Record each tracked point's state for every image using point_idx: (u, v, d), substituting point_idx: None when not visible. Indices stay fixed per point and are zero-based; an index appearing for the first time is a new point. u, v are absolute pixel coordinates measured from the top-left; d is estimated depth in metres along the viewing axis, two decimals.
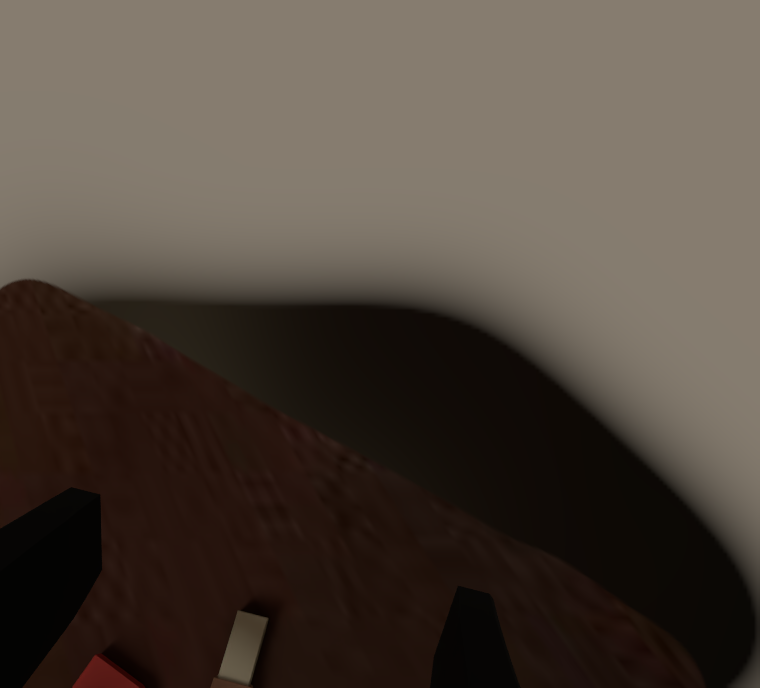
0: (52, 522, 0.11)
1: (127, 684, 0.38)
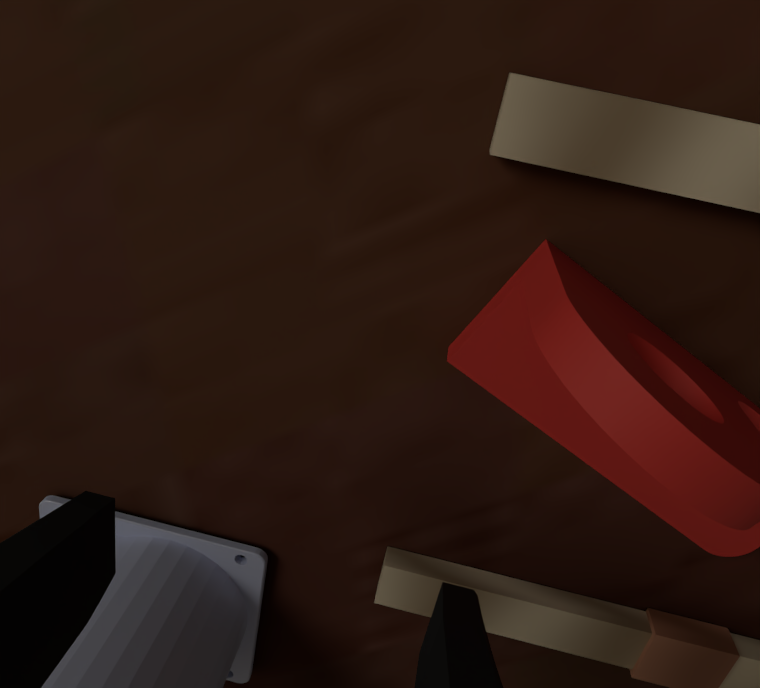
0: (67, 526, 0.11)
1: None
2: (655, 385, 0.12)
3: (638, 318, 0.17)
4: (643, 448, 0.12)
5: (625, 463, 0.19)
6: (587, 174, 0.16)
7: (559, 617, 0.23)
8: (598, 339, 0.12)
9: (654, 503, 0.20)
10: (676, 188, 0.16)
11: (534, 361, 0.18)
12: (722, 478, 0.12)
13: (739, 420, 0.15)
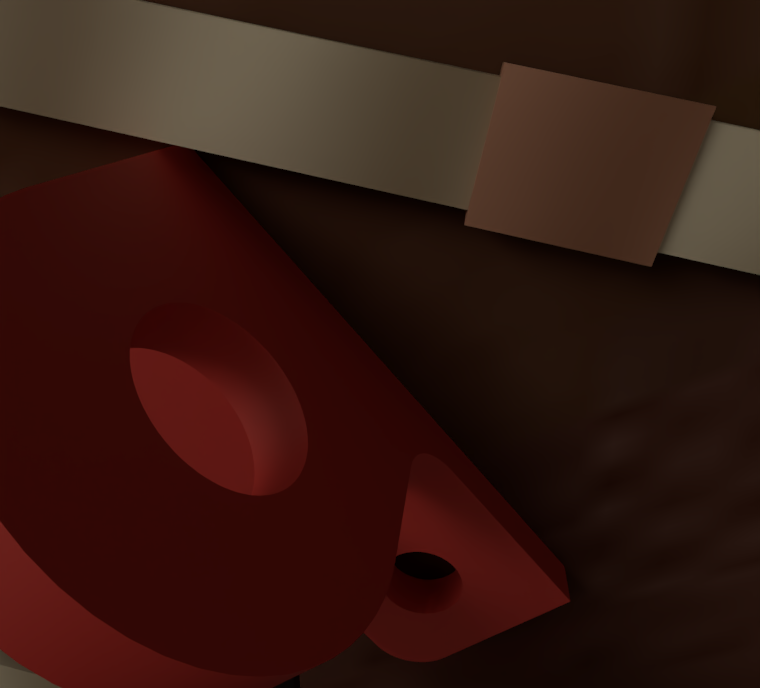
0: None
1: (457, 642, 0.14)
2: (57, 400, 0.06)
3: (297, 297, 0.11)
4: None
5: None
6: (43, 112, 0.10)
7: None
8: None
9: None
10: (164, 132, 0.10)
11: None
12: (75, 632, 0.05)
13: (360, 489, 0.09)
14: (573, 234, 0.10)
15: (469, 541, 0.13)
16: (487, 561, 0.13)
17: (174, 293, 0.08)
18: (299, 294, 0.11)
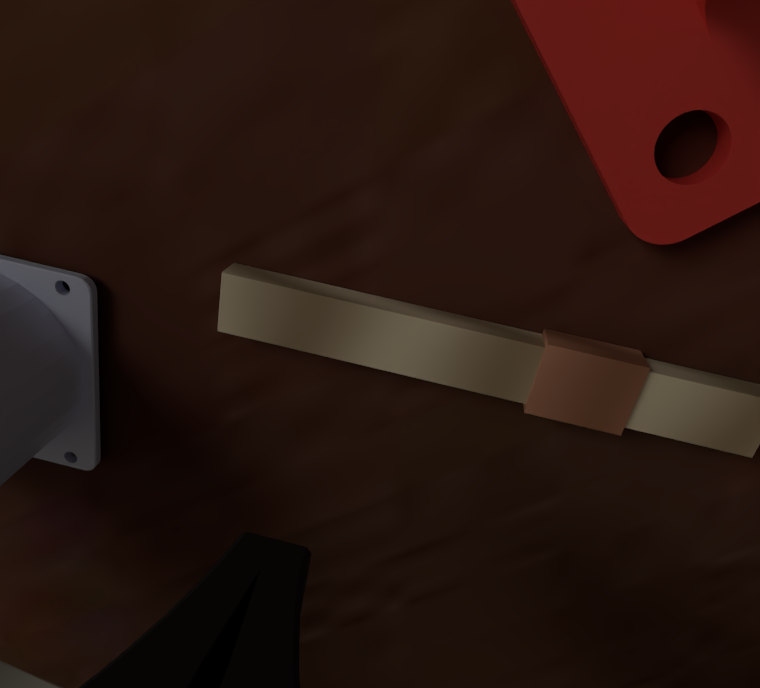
0: (246, 571, 0.10)
1: (705, 219, 0.16)
2: None
3: None
4: None
5: (583, 58, 0.15)
6: None
7: (434, 332, 0.18)
8: None
9: (595, 134, 0.16)
10: None
11: None
12: None
13: None
14: None
15: (753, 97, 0.15)
16: None
17: None
18: None
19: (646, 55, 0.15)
